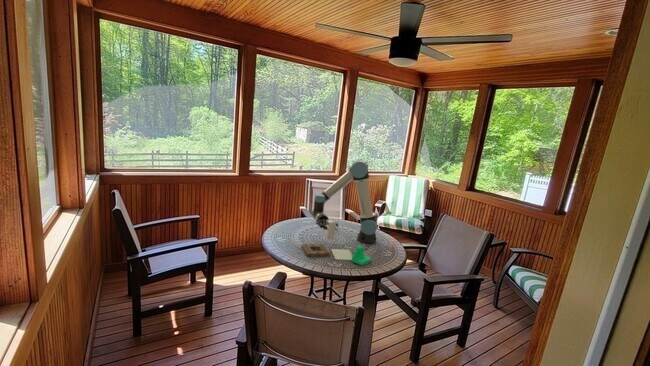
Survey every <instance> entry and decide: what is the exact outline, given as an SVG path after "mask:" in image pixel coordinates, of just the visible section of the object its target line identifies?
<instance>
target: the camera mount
mask: <svg viewBox="0 0 650 366" xmlns="http://www.w3.org/2000/svg"><path fill="white" fill-rule="evenodd" d="M354 250H355V251H354V253H353V254H352V256H353V257H352V260H350V261H351V262H353V263H355V264H358V265H359V266H366V265H367V264H369V263H370V262H372V258H371V257H370V256H367V255H366V254H365V253H364V252H365V247H364V246H362V245H357V246H356V249H354Z"/></svg>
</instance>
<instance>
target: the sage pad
mask: <svg viewBox="0 0 650 366" xmlns="http://www.w3.org/2000/svg"><path fill="white" fill-rule="evenodd" d="M331 254H332V255H333V258H334V260H335V261H351V260H352V257H353V254H352V252H351V251H350V249H339V248H338V249H337V248H334V249H333V248H331Z"/></svg>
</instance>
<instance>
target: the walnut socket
mask: <svg viewBox="0 0 650 366" xmlns="http://www.w3.org/2000/svg"><path fill="white" fill-rule="evenodd" d="M301 249H302V251H303V252H304V254H305V256H306V257H307V258H310V257H311V258H315V257H318V258H319V257H331V254H332V252H330V249H328V248H327V246H325V244H324V243H301Z"/></svg>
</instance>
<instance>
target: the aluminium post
mask: <svg viewBox="0 0 650 366" xmlns="http://www.w3.org/2000/svg"><path fill="white" fill-rule="evenodd" d="M336 223H337V222H336V221H335V220H334V219H329V220H327V221H326V225H327V226H328V227H329V228H330V232H328V231H327V230H326V229H325V233H324V238H325V239H326V240H328V241H330V240H335V236H336V231H335V228H336Z"/></svg>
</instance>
